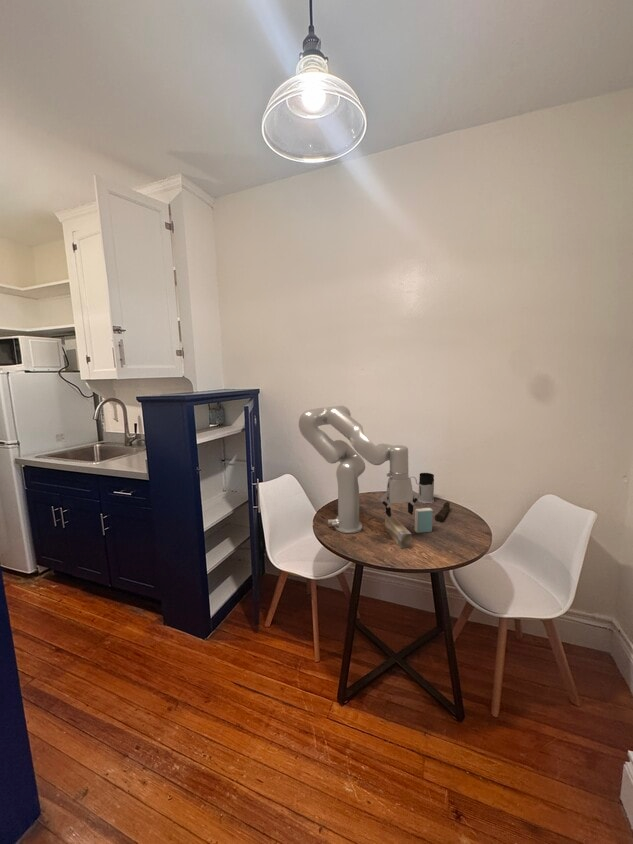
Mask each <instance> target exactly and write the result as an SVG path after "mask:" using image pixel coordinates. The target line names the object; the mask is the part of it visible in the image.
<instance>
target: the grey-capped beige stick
mask: <svg viewBox="0 0 633 844" xmlns="http://www.w3.org/2000/svg"><path fill="white" fill-rule="evenodd" d="M384 529H385V531H386V532H387V533H388V534H389V536H390V537H391V538H392V539H393V541H394V542H395V543H396V544H397V546H398V547H399V549H401V550H406V549H411V548H412V533H411V532H410V530H408V529H407V528H406V527H405V525H403V523H402V522H401V521H400V520H398V518H397V517H396V516H395V515H391V517H389V516H388V515H385V516H384Z"/></svg>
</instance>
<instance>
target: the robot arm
mask: <svg viewBox="0 0 633 844" xmlns="http://www.w3.org/2000/svg"><path fill="white" fill-rule="evenodd" d="M351 414H352V413H351V411H350V409H349V408H348V407H346V406H344V405H336V406H328V407H327V406H326V407H318V408H311V409H308V410H307V409H306V410H305V411H304V412H302V413H301V415H300V416H299V420H298V428H299V432H300V434H301V435H302V437H303V438H304V439H305V440H306V441H307V442H308V443H309V444H310V445H311V446H312V447H313V448H314V449H315V451H316V452H317V453H318V454H319V455H320V456H321V457H322V458H323V459H324V460H325V461H326V463H328V464H331V465H332V464H336V463H338V462H340V463H339V465H338V466H337V468H336V481H337V495H338V496H337V516H336V518H334V519H327V524H328V525H331V526H333V527H334V529H335V530H336V531H338V532H340V533H343V534H356V533H359V532H361V531H362V529H363V524H362V523H361V522H360V485H359V477H360V476H361V475H362V474H364V472H365V470H366V463H365V460H366V462H368V463H369V464H371V465H373V466H381V465H383V464H384V463H386V462H387V461H389V473H386V477H387V478H388V479H387V486H386V492H385V493H383V494H381V495H380V496H379V497H378V498H379V500H380V502H381V504H382V505H384V506H385V515H386V516H389V517H391V516H392V509H391V505H396V504H406V503H408V504H407V512H408V513H409V514H410V515H413V514H414V506H415V504H416V502H417V501H418V497H419V492H416V491H414V490H413V484H412V480H411V478H410V477H409V447H407V446H406V445H401V444H400V445H399V444H398V445H392V444H388V443H379V444H377V445H375V444H374V443H373V442H372V441H371V440H370V439H369V438H367V436H366V435H365V433H364V428H363V425H362V424H361V423H359V422H358V421H357V420H356V419H355V418H353V417H352V415H351ZM325 425H327V426H328V425H330V426H332V427H333V428H334V429H335V430H337V431H338V433H340V434H341V435H343V436H344V437H345V438H346V439H347V440H348V441H349V442H350V444H351V445H350V444H348V443H347V442H346V441H344V440H342V439H337V440H333V439H332V438H331V437H330V436H329V435H328V434H327V433H326V432H324V430H322V429H320V428H319V427H321V426H325ZM353 448H354V449H353ZM385 499H386V501H385Z"/></svg>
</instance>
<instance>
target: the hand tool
mask: <svg viewBox="0 0 633 844" xmlns="http://www.w3.org/2000/svg"><path fill="white" fill-rule="evenodd" d="M448 512H450V501H446V502H445V503H443V505H442V508H440V510H439V511H438V512H437V513H436V514H435V516H434V520H435V522H439V523H443V522H444V520H445V517H446V516H447V514H449V513H448Z"/></svg>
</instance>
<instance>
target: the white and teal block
mask: <svg viewBox="0 0 633 844" xmlns="http://www.w3.org/2000/svg"><path fill="white" fill-rule="evenodd" d="M433 513H434V511H433V509H432V508H431V507H423V508H422V507H421V508H414V532H416V533H417V534H419V533H429V532H430V533H431V532H432V531H433Z"/></svg>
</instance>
